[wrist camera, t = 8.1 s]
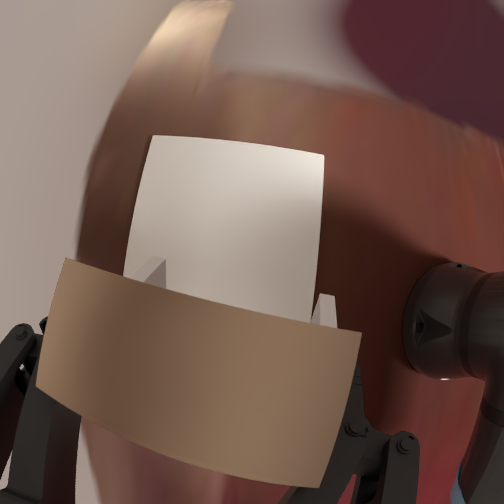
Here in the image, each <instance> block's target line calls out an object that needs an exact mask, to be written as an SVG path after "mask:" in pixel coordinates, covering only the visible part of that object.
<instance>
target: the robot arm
mask: <svg viewBox="0 0 504 504" xmlns="http://www.w3.org/2000/svg"><path fill="white" fill-rule="evenodd" d="M130 279H134V280H137V281H140V282H144V283H147V284H151V285H154V286H158V287H161V288H165V289H166V259H165V258H161V257H157V256H152V257H151V258H150V259H149V260H148V261H147V262H146V263H145V264H144V265H143V266H142V267H141V268H140V269H139V270H138V271H136V272H135V273H134V274H133V275H132V276H131V277H130ZM47 320H48V317H46V318H44V319H43V320H42V321H41V322H40V323H39V325H40V328H41V330H42V333H43V335H39V334H35V333H34V331H33V329H32V327H31V326H30V325H28V324H24V323H23V324H19V325H16V326H15V327H14V328H13V329H12V330H11V331H10V332H9V333H8V335H7V336H6V337H5V338H4V340H3V341H2V342H1V344H0V479H1V477H2V474H3V471H4V469H5V466H6V464H7V461H8V459H9V456H10V454H11V452H12V457H11V463H10V471H9V479H8V485H7V487H6V488H4V489H1V490H0V504H75V479H76V462H77V450H78V439H79V431H80V423H81V415H79V414H77V413H76V412H74V411H72V410H71V409H69V408H67V407H66V406H64V405H63V404H61V403H59V402H58V401H56V400H55V399H53V398H52V397H50V396H49V395H48V394H46V393H45V392H43V391H42V390H40V389H39V388H38V387H36V379H37V372H38V365H39V359H40V353H41V348H42V343H43V338H44V333H45V328H46V324H47ZM310 323H312V324H317V325H322V326H328V327H333V328H337V319H336V307H335V296H331V295H326V294H321V293H320V295H319V298H318V301H317V304H316V307H315V310H314V313H313V316H312V319H311V322H310ZM402 336H403V345H404V350H405V353H406V356H407V358H408V360H409V362H410V364H411V365H412V366H413V367H414V369H415V370H417V371H418V372H419V373H421V374H423V375H425V376H428V377H430V378H433V379H438V380H447V379H454V378H463V377H470V376H472V377H475V378H478V379H481V380H484V381H485V388H484V393H483V397H482V402H481V405H480V409H479V412H478V416H477V420H476V423H475V426H474V430H473V433H472V436H471V439H470V442H469V445H468V447H467V450H466V453H465V455H464V457H463V458H462V460H461V462H460V464H459V467H458V470H457V475H456V479H455V481H454V483H453V486H452V489H451V494H450V499H451V504H504V272H496V273H487V272H484V271H482V270H479V269H477V268H474V267H470V266H468V265H466V264H463V263H455V262H454V263H446V264H440V265H437V266H435V267H433V268H431V269H430V270H428V271H427V272H426V273H425V274H424V275H423V276H422V277H421V278H420V279H419V280H418V282H417V283H416V285H415V286H414V288H413V290H412V292H411V294H410V296H409V299H408V302H407V305H406V308H405V312H404V318H403V327H402ZM21 364H23V365H24V368H23V369H22V370H20V368H19V367H20V366H21ZM12 450H13V451H12ZM419 457H420V446H419V441H418V440H417V438H416V437H415V436H414V435H413V434H412V433H409V432H406V431H400V432H398V433H396V434H394V435H393V436H391V435H388V434H385V433H382V432H380V431H377V430H375V429H374V428H372V427H371V424H370V423H369V421H368V420H367V419H366V418H365V414H364V402H363V390H362V380H361V370H360V366H359V364H358V362H357V361H356V366H355V370H354V375H353V379H352V383H351V387H350V391H349V395H348V399H347V403H346V407H345V411H344V414H343V418H342V421H341V425H340V428H339V431H338V435H337V438H336V441H335V444H334V447H333V450H332V453H331V456H330V459H329V462H328V465H327V468H326V470H325V473H324V476H323V478H322V481H321V484H320V486H319V488H310V487H299V486H291V487H290V488H289V489H288V491H287V492H286V493H285V495H284V496H283V497H282V499H281V500H280V501H279V502H278V504H337V502H338V500H339V499H340V497H341V495H342V493H343V492H344V490H345V488H346V486H347V484H348V483H349V481H350V479H351V477H352V475H353V474H356V475H357V477H356V482H355V486H354V491H353V495H352V499H351V503H350V504H416V496H417V487H418V475H419Z"/></svg>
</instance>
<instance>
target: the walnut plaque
mask: <svg viewBox="0 0 504 504" xmlns="http://www.w3.org/2000/svg"><path fill="white" fill-rule="evenodd" d="M361 335H362V332H356V331H350V330H344V329H339V328H333V327H328V326H322V325H317V324H312V323H307V322H302V321H297V320H292V319H287V318H283V317H278V316H273V315H269V314H264V313H260V312H255V311H251V310H247V309H242V308H238V307H234V306H230V305H226V304H222V303H218V302H214V301H210V300H206V299H202V298H198V297H194V296H190V295H187V294H183V293H179V292H175V291H172V290H168V289H165V288H161V287H158V286H154V285H151V284H147V283H144V282H140V281H137V280H134V279H130V278H127V277H124V276H120V275H117V274H114V273H111V272H108V271H105V270H101V269H98V268H95V267H92V266H89V265H86V264H83V263H80V262H77V261H74V260H71V259H68V258H65V261H64V264H63V267H62V271H61V273H60V277H59V280H58V283H57V286H56V290H55V293H54V297H53V300H52V304H51V308H50V312H49V316H48V320H47V324H46V328H45V333H44V338H43V343H42V348H41V353H40V359H39V365H38V372H37V379H36V387H38V388H39V389H40V390H42V391H43V392H45V393H46V394H48V395H49V396H50V397H52V398H53V399H55V400H56V401H58V402H59V403H61V404H63V405H64V406H66V407H67V408H69V409H71V410H72V411H74V412H76V413H77V414H79V415H81V416H82V417H84V418H86V419H88V420H89V421H91V422H93V423H95V424H97V425H99V426H100V427H102V428H104V429H106V430H108V431H110V432H112V433H114V434H116V435H118V436H120V437H123V438H125V439H127V440H129V441H131V442H134V443H136V444H138V445H140V446H143V447H145V448H148V449H150V450H153V451H155V452H158V453H160V454H163V455H166V456H168V457H171V458H174V459H177V460H180V461H183V462H186V463H189V464H192V465H195V466H199V467H202V468H205V469H209V470H213V471H216V472H220V473H224V474H228V475H233V476H237V477H242V478H246V479H251V480H257V481H262V482H268V483H275V484H282V485H290V486H299V487H310V488H319V486H320V484H321V481H322V478H323V476H324V473H325V470H326V468H327V465H328V462H329V459H330V456H331V453H332V450H333V447H334V444H335V441H336V438H337V435H338V431H339V428H340V425H341V421H342V418H343V414H344V411H345V407H346V403H347V399H348V395H349V391H350V387H351V383H352V379H353V375H354V370H355V366H356V361H357V356H358V351H359V346H360V341H361Z"/></svg>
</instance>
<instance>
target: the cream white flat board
mask: <svg viewBox="0 0 504 504" xmlns="http://www.w3.org/2000/svg"><path fill="white" fill-rule="evenodd" d="M323 173H324V155H320V154H315V153H310V152H305V151H299V150H293V149H287V148H281V147H275V146H268V145H261V144H254V143H246V142H237V141H228V140H219V139H208V138H195V137H180V136H159V135H153V137H152V141H151V144H150V148H149V151H148V155H147V159H146V162H145V166H144V170H143V174H142V178H141V182H140V186H139V191H138V195H137V200H136V204H135V209H134V214H133V219H132V224H131V229H130V235H129V240H128V246H127V253H126V259H125V266H124V273H123V276H124V277H127V278H130V277H131V276H132V275H133V274H134V273H135V272H136V271H138V270H139V269H140V268H141V267H142V266H143V265H144V264H145V263H146V262H147V261H148V260H149V259H150V258H151V257H152V256H157V257H161V258H165V259H166V289H168V290H172V291H175V292H179V293H183V294H187V295H190V296H194V297H198V298H202V299H206V300H210V301H214V302H218V303H222V304H226V305H230V306H234V307H238V308H242V309H247V310H251V311H255V312H260V313H264V314H269V315H273V316H278V317H283V318H287V319H292V320H297V321H302V322H307V323H310V322H311V314H312V306H313V298H314V289H315V280H316V271H317V261H318V250H319V238H320V225H321V211H322V194H323Z"/></svg>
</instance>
